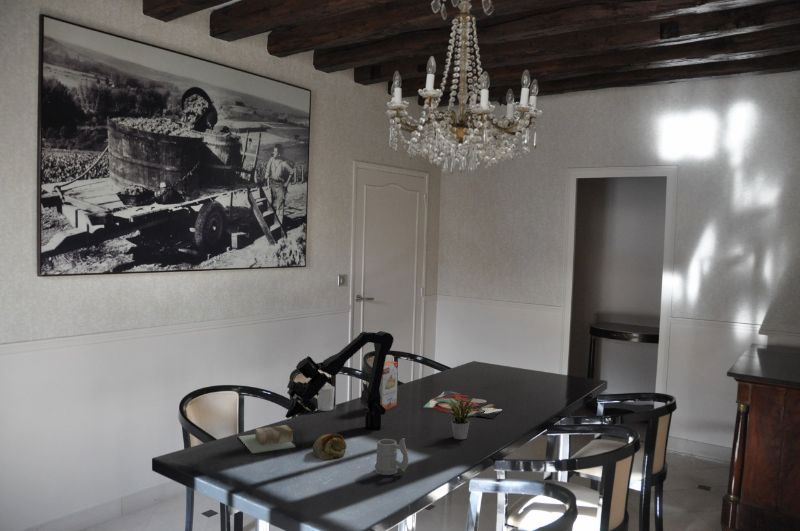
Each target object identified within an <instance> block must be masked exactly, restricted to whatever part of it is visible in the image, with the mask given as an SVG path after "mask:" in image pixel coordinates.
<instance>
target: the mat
mask: <svg viewBox="0 0 800 531" xmlns="http://www.w3.org/2000/svg"><path fill="white" fill-rule="evenodd" d="M238 439H239V440H240V441H241V442H242V443H243V445H244V444H245V445H244V446H246V448H247V449H248V450H249V451H250V453H251V454H258V453H265V452H271V451H272V452H273V451H277V450H285V449H286V450H287V449H291V448H296V445H295V444H294V443H293V441H288V442H281V443H274V444H267V445H261V444H260V443H259V442H258V441H257V440H256V439H255V433H254V434H248V435H239V436H238Z"/></svg>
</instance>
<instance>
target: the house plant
mask: <svg viewBox="0 0 800 531" xmlns="http://www.w3.org/2000/svg"><path fill="white" fill-rule="evenodd" d="M455 397H456V396H455ZM456 398H457V397H456ZM448 399H449V400H450V401H451V402H452V406H451V405H450V404H449V405H450V406H451V408H452V410H450V411H453V413H452V412H449V411H447V412H449V413H450V414H448V415H447V417H451V418H453V416H454V418H453V419H451V428H452V435H453V438H454V439H455V440H465V439H467V437H468V432H469V427H470V421H469V420H467V419H469V418H471V419H474V418H475V417H476V416H475V415H474V414H470V415H474V416H469V415H468V414H469V412H470V411H471V410H473V409H471V410H469V409H470V407H471V406H472V405H473V404H475V403H472V404H471V405H470V406H468V405H469V403H470V402H471V400H472V399H475V397H472V398H469V399H468V400H469V401H468V402H467V401H465V402H466V404H465V407H464V410H463V402H464V401H463V400H462V399H461V397H459V399H460V401H459V400H458V401H459V405H460V407H459V408H460V411H461V414H460V412H459V409H458V406H456V405H455V403H454V402H453V401H452V400H451V399H452V398H448ZM457 399H458V398H457ZM445 403H446V402H445ZM476 404H477V402H476ZM453 406H454V407H453ZM467 406H468V407H469V408H468V407H467ZM467 409H468V410H467ZM466 410H467V411H466ZM467 415H468V416H467Z"/></svg>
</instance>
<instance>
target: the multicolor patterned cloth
mask: <svg viewBox="0 0 800 531" xmlns="http://www.w3.org/2000/svg"><path fill="white" fill-rule="evenodd" d="M455 396H456V397H457V398H458V399H457V398H456V397H455ZM459 397H461V399H462V400H463V410H464V407H465V404H466V402H468V401H469V400H470V399H468V395H466V394H463V393H460V392H455V391H447V390H444V391H443V392H442V393H441V394H440V395H438V396H436V397H433V398H431V399H430V400H429V401H428V402H427V403H426V404H425V405H424V406H423V408H435V409H438V410H439V412H443V413H446V414H448V415H451V413H449V412H452V413H453V411H450V410H452V408H451V406H452V402H451V401H450V400H449V399H451V400H452V401H453V402H454V403H455V405H456V406H458V409H459V412H460V414H461V411H460V405H459V401H460V399H459ZM448 398H449V399H448ZM471 399H472V398H471ZM458 400H459V401H458ZM445 402H446V403H445ZM476 402H477V403H476ZM486 402H487V403H488V401H487V400H486V399H481V398H474V399H472V400H471V402H470V403H469V405H468V406H470V405H471V404H472V403H475V404H473V405H472V406H471V407H470V409H469V410H471V409H473V410H471V411H470V412H469V414H468V415H469V416H471V417H482V418H488V419H492V420H493V419H494V418H495V417H496V416H497V415H498V414H499V413H500V412H501V411H502V409H501V408H495V407H496V406H495V405H496V404H491V403H490V404H487V405H484V406H480V405H479V404H481V403H482V404H486ZM449 404H450V405H451V406H450V405H449ZM468 406H467V407H468ZM493 406H494V407H493ZM453 407H454V406H453ZM476 407H477V408H476ZM468 408H469V407H468ZM467 410H468V409H467ZM467 410H466V411H467ZM447 411H449V412H447ZM484 411H485V412H484ZM481 412H484V413H481ZM470 414H474V415H475V416H474V415H470ZM468 415H467V417H469V416H468Z"/></svg>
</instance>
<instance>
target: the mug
mask: <svg viewBox="0 0 800 531" xmlns="http://www.w3.org/2000/svg"><path fill="white" fill-rule="evenodd" d="M398 450H399V451H400V453H401V454H402V461H400V460H398ZM375 453H376V462H375V464H374V469H375V472H376V474H379V475H382V476H383V475H384V476H391V475H395V474H397V472H398V469H399V468H400V470H401V471H402V472H406V469H407V468H408V466H409V453H408V450H407V446H406V443H405V438H404V437H402V438H401V439H400V440H399V443H398V444H397V441H396V440H395V439H389V438H383V439H380V440H378V441H377V443H376V450H375Z"/></svg>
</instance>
